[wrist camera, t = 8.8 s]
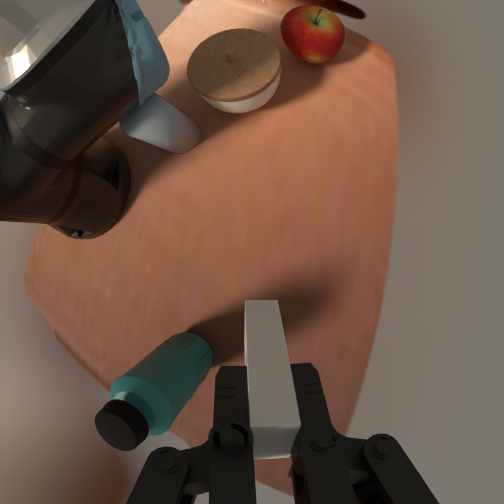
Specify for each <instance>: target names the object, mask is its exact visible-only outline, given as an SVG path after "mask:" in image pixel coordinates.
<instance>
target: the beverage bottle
mask: <svg viewBox="0 0 504 504" xmlns="http://www.w3.org/2000/svg"><path fill="white" fill-rule="evenodd" d="M176 334H177V333H176ZM162 344H163V345H162ZM162 344H161V345H160V346H158V347H159V348H158V347H156V349H155V351H154V350H153V352H150V353H151V354H149V355H148V356H147V357H145V358H144V359H143V360H142V361H141V362H139V363H138V364H136V366H134V367H133V368H132V369H130V370H129V371H128V372H126V373H125V374H124V375H122V376H120V377H118V378H117V379H116V380H115V381H114V382H113V384H112V385H111V388H110V401H109V402H108V403H106V404H105V405H104V407H103V408H102V409H101V410H100V411H99V412H98V413H97V415H96V417H95V425H96V428H97V430H98V432H99V434H100V435H101V437H102V438H103V439H104V440H105V441H106V442H107V443H108V444H110V445H111V446H113V447H114V448H116V449H119V450H122V451H130V450H133V449H135V448H136V447H137V446H138V445H139V444H140V443H142V442H143V441H144V440H145V439H146V437H147V436H148V435H151V436H154V435H160V434H163V433H164V432H166V431H167V430H168V429H169V428H170V427H171V425H172V423H173V421H174V420H175V418H176V417H177V416H178V414H179V413H180V411H181V410H182V409H183V407H184V406H185V404H186V403H187V402H188V401H189V400H190V398H191V397H192V395H193V394H194V392H195V391H196V389H197V388H198V386H199V385H200V383H201V382H202V380H203V381H204V380H205V379H204V378H205V376H206V374H207V373H208V371H209V370H210V368H211V366H212V364H213V363H212V362H213V357H212V355H213V354H212V351H211V349H210V347H209V345H208V344H207V342H206V341H205V340H204V339H203V338H201V337H200V336H198V335H196V334H193V333H189V332H187V333H184V332H183V333H181V332H180V334H177V335H174V336H172V337H171V338H169V339H168V340H167V341H164V343H162ZM209 372H210V371H209ZM206 377H207V376H206ZM202 383H203V382H202ZM200 386H201V385H200ZM195 393H196V392H195ZM194 395H195V394H194ZM190 401H191V400H190Z"/></svg>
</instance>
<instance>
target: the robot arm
mask: <svg viewBox="0 0 504 504" xmlns="http://www.w3.org/2000/svg"><path fill="white" fill-rule="evenodd" d="M169 71H170V67H169V63H168V60H167V57H166V55H165V52H164V50H163V48H162V46H161V44H160V42H159V40H158V38H157V36H156V34H155V32H154V30H153V28H152V26H151V25H150V23H149V21H148V20H147V18H146V17H144V14H143V12H142V11H141V9H140V7H139V5H138V3H137V2H136V0H0V90H2V91H3V92H5V94H4V96H3V97H2V98H1V100H0V221H10V222H26V223H42V224H47V225H49V226H51V227H52V228H54V229H56V230H57V231H59V232H61V233H62V234H64V235H66V236H68V237H71V238H74V239H93V238H96V237H99V236H101V235H102V234H104V233H105V232H107V231H108V230H109V229H110V228H111V227H112V226H113V225H114V224H115V222H116V221H117V220H118V218H119V217H120V215H121V213H122V211H123V209H124V207H125V204H126V202H127V198H128V194H129V189H130V169H129V164H128V161H127V159H126V156H125V155H124V153H123V152H122V150H121V149H120V148H119V147H118V146H117V145H115V144H114V143H112V142H110V141H108V140H106V139H104V138H100V137H102V136H103V135H104V134H105V133H106V132H107V131H108V130H110V129H111V128H112V127H113V126H114V125H115V124H116V123H118V122H119V121H120V120H121V119H122V118H124V117H125V116H126V115H127V114H129V113H130V112H131V111H132V110H134V109H135V108H136V107H140V106H141V105H142V104H143V103H144V100H145V99H147V98H148V97H149V96H150V95H151V94H153V93H154V92H155V91H156V90H158V89H159V88H160V87H161V86H163V85H164V84H165V82H166V81H167V79H168V76H169ZM244 346H245V366H221V368H220V369H219V371H218V373H217V374H216V379H215V398H214V418H213V428H212V429H211V430H210V433H209V436H208V440H207V441H206V442H205V443H204V444H202V445H200V446H198V447H195V448H190V449H185V450H181V451H180V450H177V449H176V448H173V447H161V448H158V449H156V450H154V451H152V452H151V454H150V455H149V456H148V458H147V461H146V462H145V465H144V467H143V469H142V471H141V473H140V475H139V477H138V479H137V482H136V484H135V486H134V488H133V490H132V492H131V494H130V497H129V499H128V501H127V503H126V504H194V502H195V499H196V496H197V495H198V494H202V493H206V492H209V504H256V488H255V472H254V459H273V458H287V457H290V455H291V456H292V466H291V468H290V470H289V475H288V477H291V476H292V484H293V492H294V500H295V504H439V503H438V501H437V499H436V498H435V497H434V495H433V494H432V492H431V491H430V489H429V488H428V486H427V484H426V483H425V481H424V480H423V479H422V477H421V476H420V474H419V473H418V471H417V470H416V468H415V467H414V465H413V464H412V462H411V461H410V459H409V458H408V456H407V455H406V453H405V452H404V450H403V449H402V447H401V446H400V444H399V443H398V442H397V441H396V440H395V439H394V438H393V437H392V436H390V435H388V434H376V435H373V436H372V437H370V438H369V439H368V440H365V439H356V438H349V437H345V436H343V435H341V434H340V433H338V432H337V431H336V430H335V429H334V427H333V426H332V423H331V420H330V416H329V412H328V408H327V404H326V400H325V396H324V393H323V389H322V385H321V381H320V378H319V374H318V371H317V370H316V369H315V368H314V366H313V365H312V364H311V363H299V364H290V362H289V357H288V351H287V346H286V341H285V335H284V330H283V325H282V320H281V315H280V309H279V304H278V300H245V335H244Z"/></svg>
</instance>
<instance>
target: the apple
mask: <svg viewBox="0 0 504 504" xmlns="http://www.w3.org/2000/svg"><path fill="white" fill-rule="evenodd" d="M281 34H282V38H283V40H284V42H285V44H286V46H287V47H288V48H289V50H290V51H291V52H292V53H293V54H294V55H295V56H297V57H298V58H300V59H302V60H304V61H306V62H309V63H314V64H318V63H324V62H326V61H328V60H330V59H331V58H333V57H334V56H335V55H336V54H337V53H338V52H339V50H340V49H341V47H342V44H343V41H344V36H345V31H344V26H343V24H342V22H341V21H340V19H339V18H338V17H337V16H336V15H335V14H334V13H333V12H331V11H329V10H328V9H325V8H323V7H320V6H314V5H304V6H299V7H296V8H294V9H292V10H290V11H289V12H288V13H287V14H286V15H285V16H284V18H283V20H282V23H281Z"/></svg>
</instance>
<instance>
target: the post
mask: <svg viewBox="0 0 504 504" xmlns="http://www.w3.org/2000/svg"><path fill="white" fill-rule="evenodd" d="M119 123H120V127H121V129H122V130H123V132H124V133H125V134H127V135H129V136H131V137H134V138H137V139H139V140H142V141H145V142H147V143H150V144H152V145H155V146H158V147H160V148H163V149H165V150H168V151H170V152H173V153H176V154H183V153H186V152H189V151H190V150H192V149H193V148H194V147H195V146H196V144H197V143H198V141H199V138H200V129H199V127H198V125H197V124H196V123H195V122H194V121H192V120H191V119H190V118H188V117H187V116H186V115H185V114H183V113H182V112H181V111H179V110H178V109H177V108H175V107H174V106H172V105H171V104H170V103H168V102H167V101H166V100H164V99H163V98H162V97H160V96H159V95H157V94H156V93H155V92H154V93H153V94H151V95H150V96H149V97H148V98H147V99H145V100H144V103H143V104H142V105H141V106H140V107H136V108H135V109H134V110H132V111H131V112H130V113H129V114H127V115H126V116H125V117H124V118H122V119H121V120H120V121H119Z"/></svg>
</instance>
